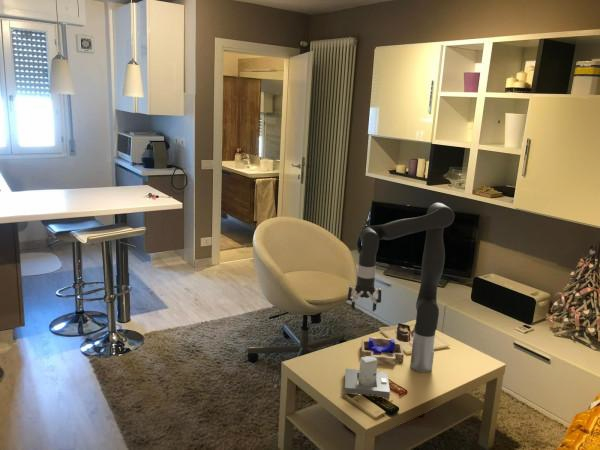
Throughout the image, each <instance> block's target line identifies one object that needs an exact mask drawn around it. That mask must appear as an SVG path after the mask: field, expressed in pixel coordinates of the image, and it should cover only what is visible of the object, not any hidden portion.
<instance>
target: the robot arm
mask: <svg viewBox="0 0 600 450" xmlns="http://www.w3.org/2000/svg"><path fill="white" fill-rule="evenodd" d="M455 217H456V215H455V212H454V210H452V208H450V207H449V206H447V204H446V205H445V204H444V203H442V202H435V203H433V204H431V205H430V206H429V207H428V209H427V212H426V214H425V215H422V216H421V215H420V216H417V217H411V218H410V217H408V218H402V219H401V218H400V219H397V220H393V221H390V222H387V223H384V224H377V225H370V226H367V227H365V228H363V229H361V231H360V232H359V235H358V236H359V240H360V241H361V243H362V246H361V251H360V252H359V256H358V266H357V272H356V273H357V274H356V286H353V285H351V284H350V285H349V286H348V292H347V301H351V304H350V305H351V308H350V309H352V311H354V310H355V309H356V308H355V307H356V306H355V305H356V300H357V299H359V298H365V299H370V300H371V301H372V312H375V311H376V310H377V305H378V304H380V303H381V302H382V288H381V287H378V288H375V280H376V264H377V253H378V251H379V247H380V246H379V244H380V241H382V240H385V241H391V240H394V239H397V238H401V237H404V236H407V235H410V234H411V235H412V234H415V233H419V232H424V231H426V233H425V235H426V236H425V241H424V247H423V248H424V249H423V253H422V261H421V268H420V269H421V271H420V286H419V291H418V294H417V295H418V296H417V299H416V304H415V308H416V317H415V324H414V327H413V328H414V329H413V334H412V335H413V337H412V346H411V355H410V368H411V369H412V370H414V371H416V372H420V373H428V372H432V371H433V365H434V357H435V351H434V347H435V346H434V345H435V338H436V331H437V330H438V329H437V328H438V324H439V323H438V322H439V315H440V312H439V311H440V309H439V306H438V303H437V294H438V293H437V292H438V285H439V282H440V281H441V279H442V275H443V271H444V268H445V262H446V261H445V260H446V252H445V251H446V250H445V244H444V230H445V228H447V227H449V226H451V225H452V223H454V220H455ZM354 291H355V292H356V293H354V295H353V296H352V292H354ZM375 292H376V294H377V298H376V297H375V295H374V293H375Z"/></svg>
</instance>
